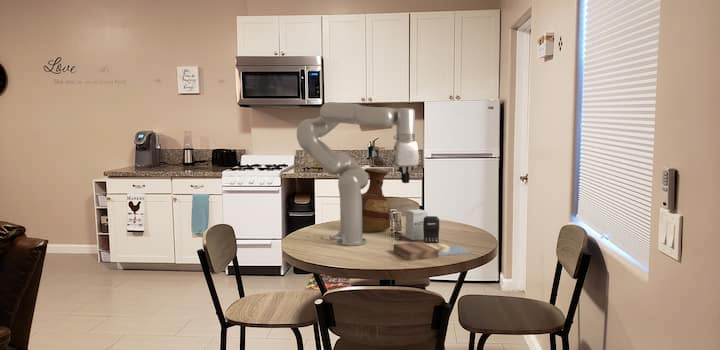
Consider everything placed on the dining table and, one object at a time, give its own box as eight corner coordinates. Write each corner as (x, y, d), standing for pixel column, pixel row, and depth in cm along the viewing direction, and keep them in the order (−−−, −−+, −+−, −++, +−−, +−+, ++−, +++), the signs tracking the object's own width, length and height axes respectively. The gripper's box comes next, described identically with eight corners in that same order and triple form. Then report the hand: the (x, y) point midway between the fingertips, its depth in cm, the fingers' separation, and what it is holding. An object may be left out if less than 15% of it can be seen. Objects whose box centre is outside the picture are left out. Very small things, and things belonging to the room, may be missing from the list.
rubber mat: (437, 256, 214) (437, 255, 214) (422, 249, 226) (422, 248, 226) (471, 252, 220) (471, 251, 220) (455, 246, 231) (455, 245, 231)
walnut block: (410, 260, 208) (410, 252, 208) (393, 251, 222) (393, 244, 222) (438, 257, 213) (438, 249, 213) (420, 248, 227) (420, 241, 226)
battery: (423, 243, 237) (423, 217, 235) (422, 241, 240) (423, 215, 239) (439, 243, 236) (440, 217, 235) (438, 241, 240) (439, 215, 239)
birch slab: (432, 253, 217) (432, 248, 217) (425, 250, 223) (425, 245, 223) (449, 251, 220) (449, 246, 220) (442, 248, 226) (442, 243, 226)
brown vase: (389, 235, 253) (389, 170, 250) (346, 234, 256) (345, 170, 253) (393, 226, 273) (393, 166, 269) (353, 225, 276) (353, 166, 273)
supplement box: (412, 240, 242) (412, 212, 241) (405, 237, 249) (405, 209, 248) (427, 239, 245) (427, 211, 243) (419, 235, 252) (419, 208, 250)
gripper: (393, 139, 219) (393, 184, 221) (426, 138, 225) (425, 182, 227) (385, 138, 226) (385, 182, 228) (417, 137, 232) (417, 180, 234)
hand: (405, 182), depth 228 cm, fingers closed
